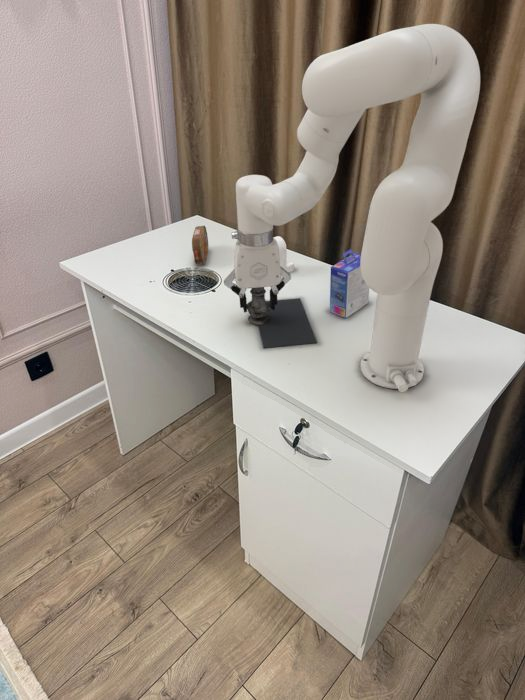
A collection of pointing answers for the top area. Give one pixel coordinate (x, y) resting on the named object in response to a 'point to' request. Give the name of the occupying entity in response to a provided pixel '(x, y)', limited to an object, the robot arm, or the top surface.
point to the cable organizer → (283, 255)
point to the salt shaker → (258, 307)
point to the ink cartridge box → (347, 286)
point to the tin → (200, 245)
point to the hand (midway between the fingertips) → (258, 307)
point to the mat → (287, 325)
